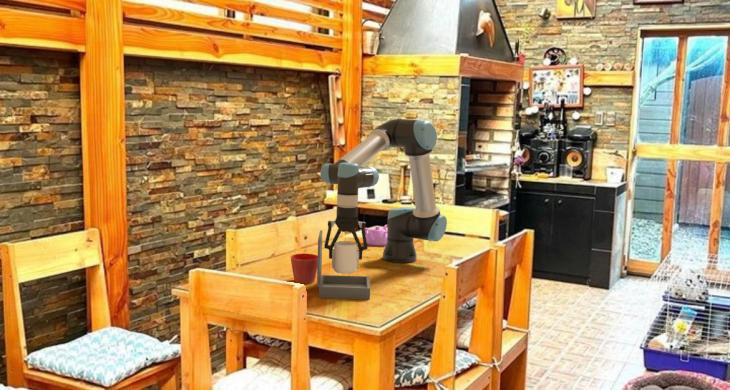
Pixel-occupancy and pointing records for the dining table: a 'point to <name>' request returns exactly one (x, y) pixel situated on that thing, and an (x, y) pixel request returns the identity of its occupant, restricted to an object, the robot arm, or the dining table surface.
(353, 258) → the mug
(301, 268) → the flower pot
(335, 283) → the case
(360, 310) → the dining table surface
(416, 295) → the dining table surface
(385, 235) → the pink toy pig
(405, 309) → the dining table surface
